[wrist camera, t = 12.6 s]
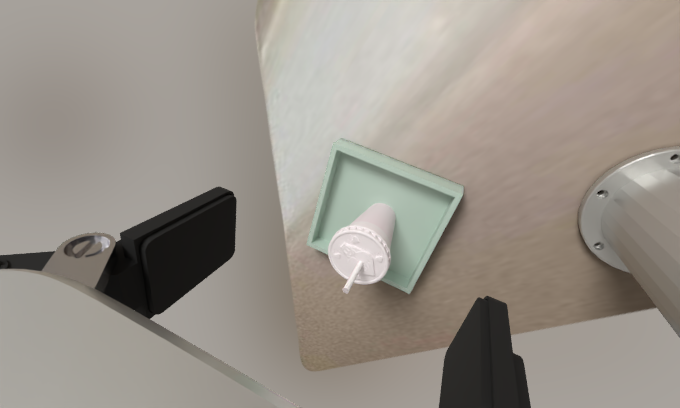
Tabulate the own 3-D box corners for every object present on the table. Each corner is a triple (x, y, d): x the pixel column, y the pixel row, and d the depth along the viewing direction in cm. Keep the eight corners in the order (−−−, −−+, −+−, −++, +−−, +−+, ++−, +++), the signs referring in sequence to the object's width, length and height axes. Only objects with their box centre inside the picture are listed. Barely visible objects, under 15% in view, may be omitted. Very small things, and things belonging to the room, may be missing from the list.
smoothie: (382, 247, 40) (345, 326, 28) (347, 214, 40) (295, 278, 28) (418, 219, 36) (393, 294, 25) (379, 182, 36) (335, 240, 25)
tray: (463, 186, 34) (463, 194, 31) (412, 281, 41) (409, 294, 39) (341, 138, 37) (333, 143, 34) (314, 235, 44) (306, 244, 42)
